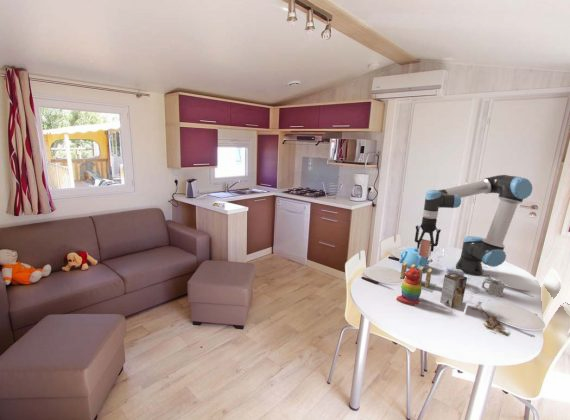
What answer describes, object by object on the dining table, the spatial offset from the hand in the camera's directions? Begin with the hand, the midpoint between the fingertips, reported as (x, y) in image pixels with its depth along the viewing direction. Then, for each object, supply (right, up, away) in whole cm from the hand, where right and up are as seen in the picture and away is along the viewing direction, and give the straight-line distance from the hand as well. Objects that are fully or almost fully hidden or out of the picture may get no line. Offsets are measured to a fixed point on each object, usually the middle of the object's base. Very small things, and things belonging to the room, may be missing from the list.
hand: (424, 254), depth 179 cm
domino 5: (-2, -17, -8) cm, 19 cm away
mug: (+34, -20, -9) cm, 40 cm away
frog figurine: (+12, -27, -42) cm, 52 cm away
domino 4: (0, -1, 0) cm, 1 cm away
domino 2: (-9, -15, -3) cm, 18 cm away
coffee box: (+2, -22, -25) cm, 34 cm away
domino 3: (-6, -16, -5) cm, 18 cm away
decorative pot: (+2, -11, +21) cm, 24 cm away
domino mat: (-9, -16, -3) cm, 19 cm away
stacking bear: (-19, -20, -23) cm, 36 cm away
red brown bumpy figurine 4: (-13, -14, 0) cm, 19 cm away
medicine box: (+17, -17, -1) cm, 24 cm away
